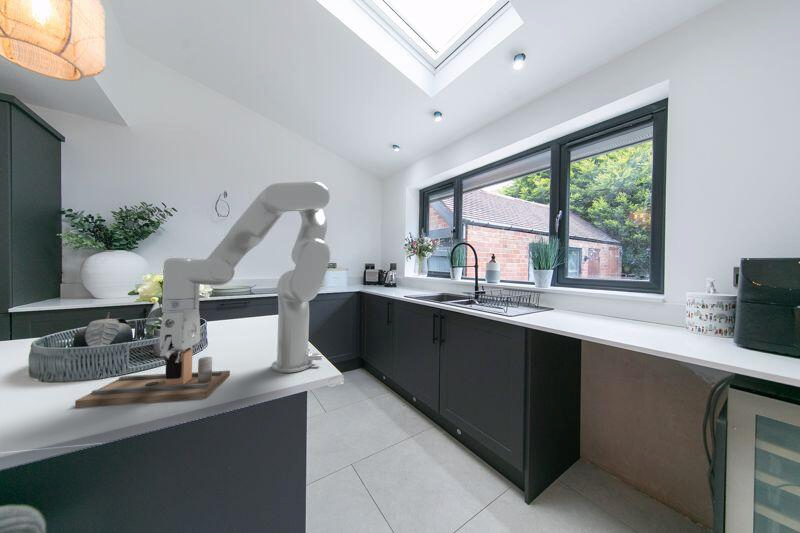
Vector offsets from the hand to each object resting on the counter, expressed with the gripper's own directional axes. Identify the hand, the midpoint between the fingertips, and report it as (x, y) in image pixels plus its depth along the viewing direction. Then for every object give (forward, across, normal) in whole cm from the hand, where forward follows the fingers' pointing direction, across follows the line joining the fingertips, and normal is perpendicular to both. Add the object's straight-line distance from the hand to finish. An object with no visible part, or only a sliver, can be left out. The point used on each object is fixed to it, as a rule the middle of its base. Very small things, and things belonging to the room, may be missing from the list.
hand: (179, 373), depth 70 cm
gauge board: (+4, 0, +4) cm, 5 cm away
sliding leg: (+2, 0, 0) cm, 2 cm away
